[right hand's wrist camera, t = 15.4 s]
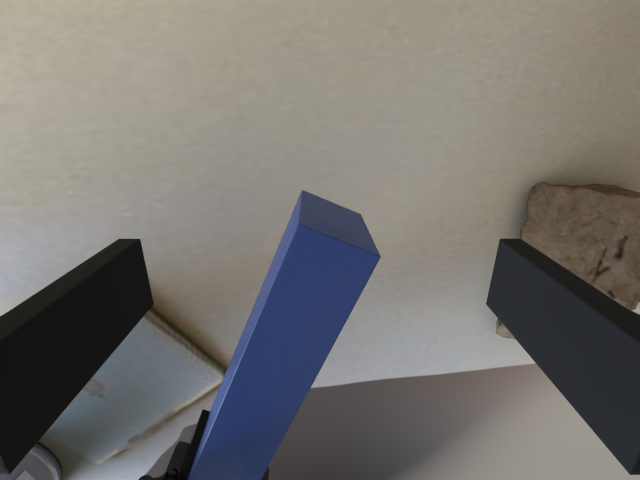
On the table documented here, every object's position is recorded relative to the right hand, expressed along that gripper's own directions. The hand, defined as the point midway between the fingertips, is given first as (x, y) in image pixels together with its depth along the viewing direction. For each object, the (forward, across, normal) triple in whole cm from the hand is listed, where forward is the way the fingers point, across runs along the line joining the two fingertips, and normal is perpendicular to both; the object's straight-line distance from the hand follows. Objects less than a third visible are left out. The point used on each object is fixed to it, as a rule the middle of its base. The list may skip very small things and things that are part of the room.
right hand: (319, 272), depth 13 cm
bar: (+16, -5, -15) cm, 22 cm away
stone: (+29, +31, -13) cm, 45 cm away
